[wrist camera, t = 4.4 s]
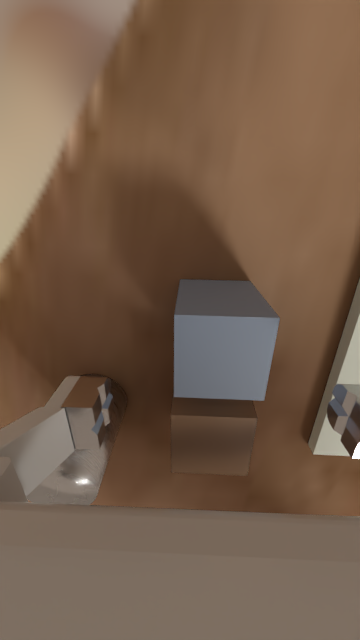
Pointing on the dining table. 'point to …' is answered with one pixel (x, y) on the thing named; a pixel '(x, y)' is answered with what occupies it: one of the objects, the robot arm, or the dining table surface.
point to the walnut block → (212, 435)
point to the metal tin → (83, 464)
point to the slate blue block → (222, 340)
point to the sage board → (348, 368)
